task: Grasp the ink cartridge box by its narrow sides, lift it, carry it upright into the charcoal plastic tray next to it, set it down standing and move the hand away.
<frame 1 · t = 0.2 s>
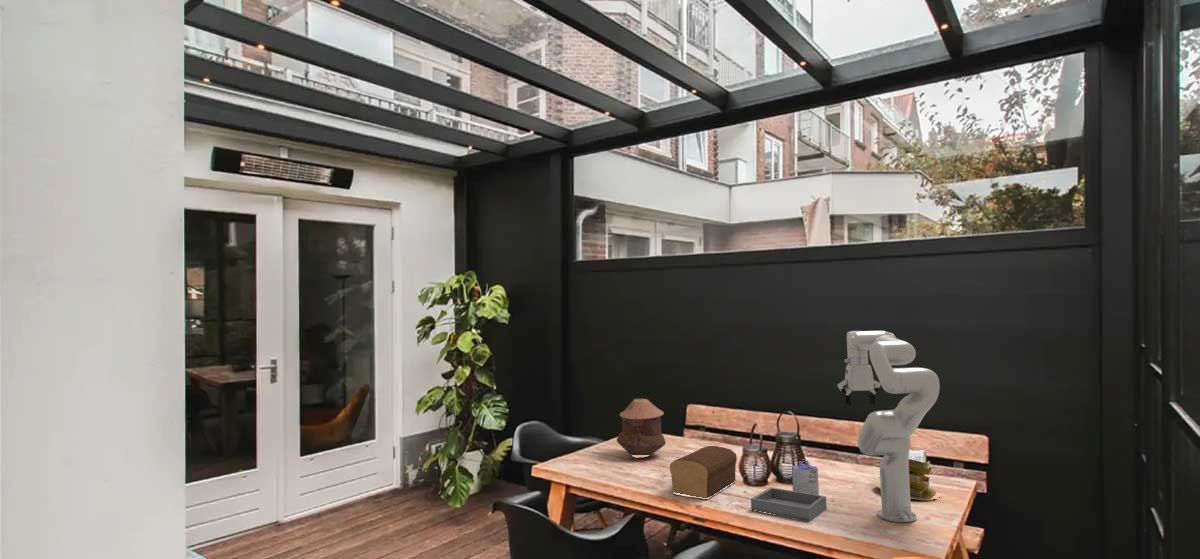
hand: (860, 404, 247), 36 cm above the table, tool pointing down, fingers open, 9 cm apart
tray: (788, 509, 232), on the table
stacked food on plate: (906, 493, 249), on the table
pottery vessel: (641, 457, 324), on the table
brain slice: (791, 470, 290), on the table
ink cartridge box: (806, 499, 245), on the table
bread: (705, 489, 263), on the table
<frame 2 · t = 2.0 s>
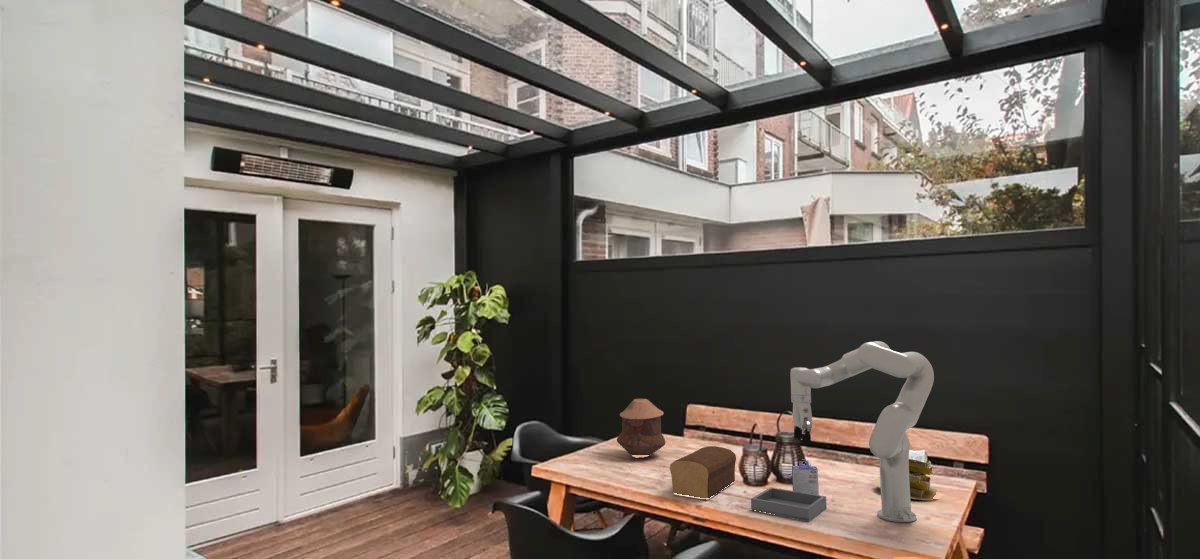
hand: (802, 441, 247), 22 cm above the table, tool pointing down, fingers open, 9 cm apart
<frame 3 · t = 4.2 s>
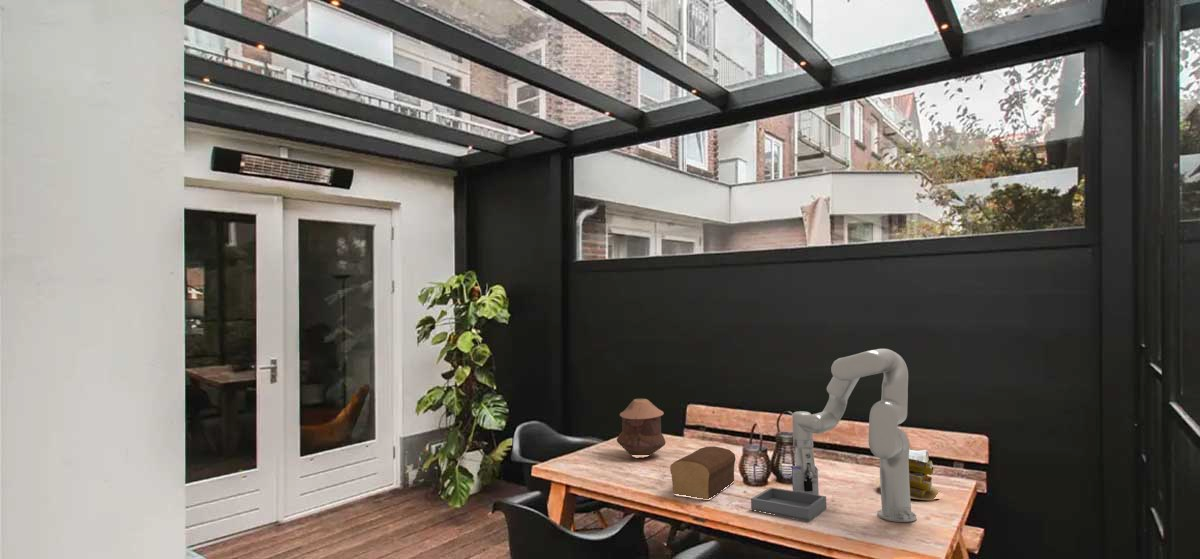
hand: (805, 488, 246), 4 cm above the table, tool pointing down, fingers closed on ink cartridge box, 6 cm apart
ink cartridge box: (805, 498, 245), on the table, touching gripper
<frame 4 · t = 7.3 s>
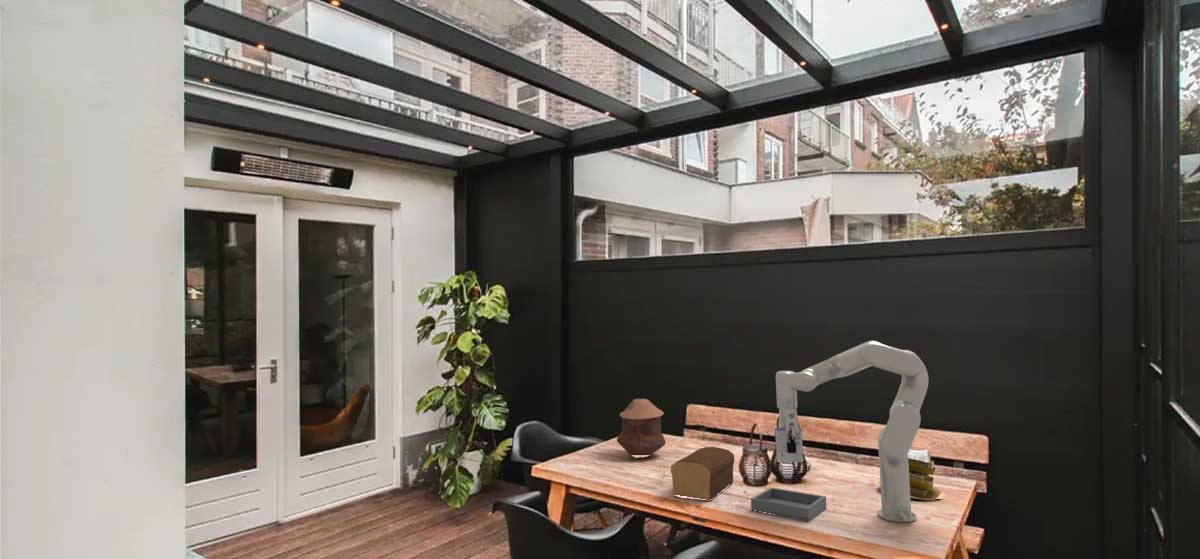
hand: (789, 450, 236), 22 cm above the table, tool pointing down, fingers closed on ink cartridge box, 6 cm apart
ink cartridge box: (789, 461, 236), point 17 cm above the table, touching gripper
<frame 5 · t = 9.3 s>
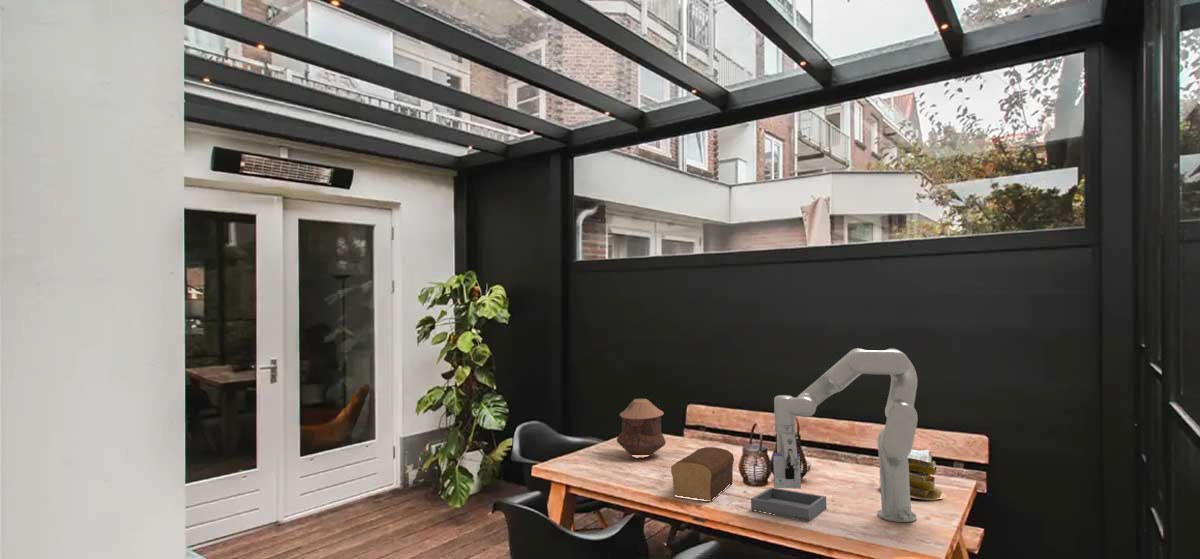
hand: (787, 476, 233), 12 cm above the table, tool pointing down, fingers closed on ink cartridge box, 6 cm apart
ink cartridge box: (787, 487, 233), point 8 cm above the table, touching gripper
when the fingers open (6 cm above the table, at t = 10.9 s): ink cartridge box drops 1 cm, resting on tray.
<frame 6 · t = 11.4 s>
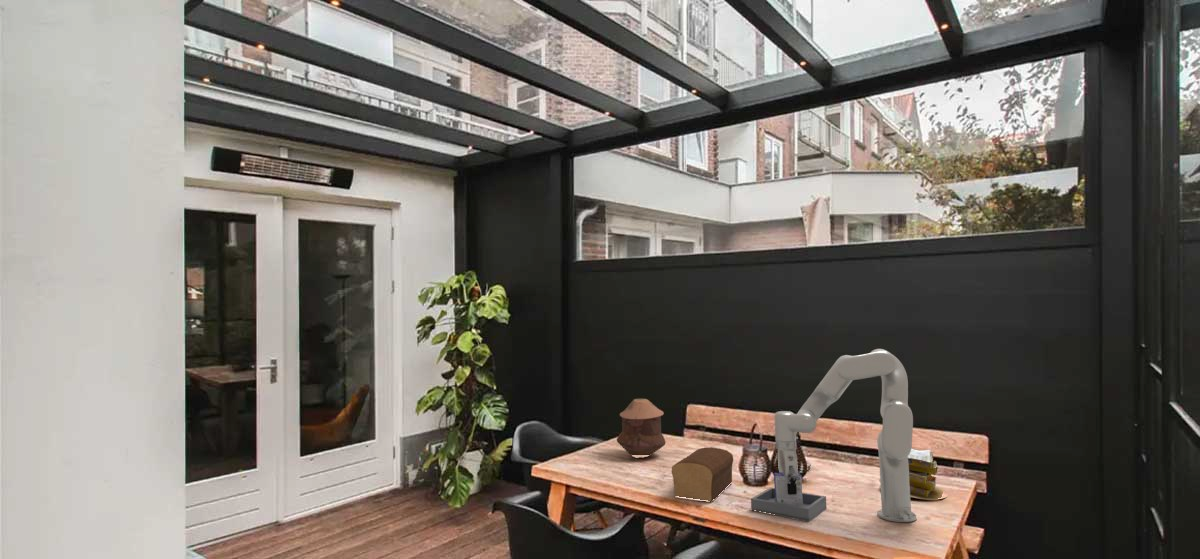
hand: (788, 490, 233), 7 cm above the table, tool pointing down, fingers open, 9 cm apart
ink cartridge box: (789, 507, 233), point 1 cm above the table, touching tray
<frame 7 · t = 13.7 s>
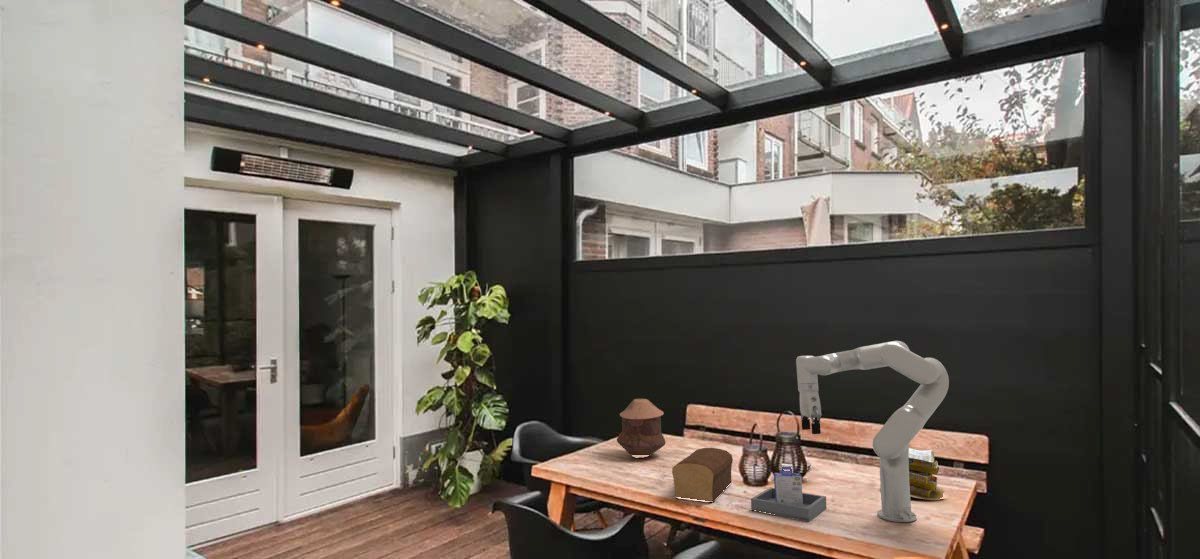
hand: (811, 431, 240), 28 cm above the table, tool pointing down, fingers open, 9 cm apart
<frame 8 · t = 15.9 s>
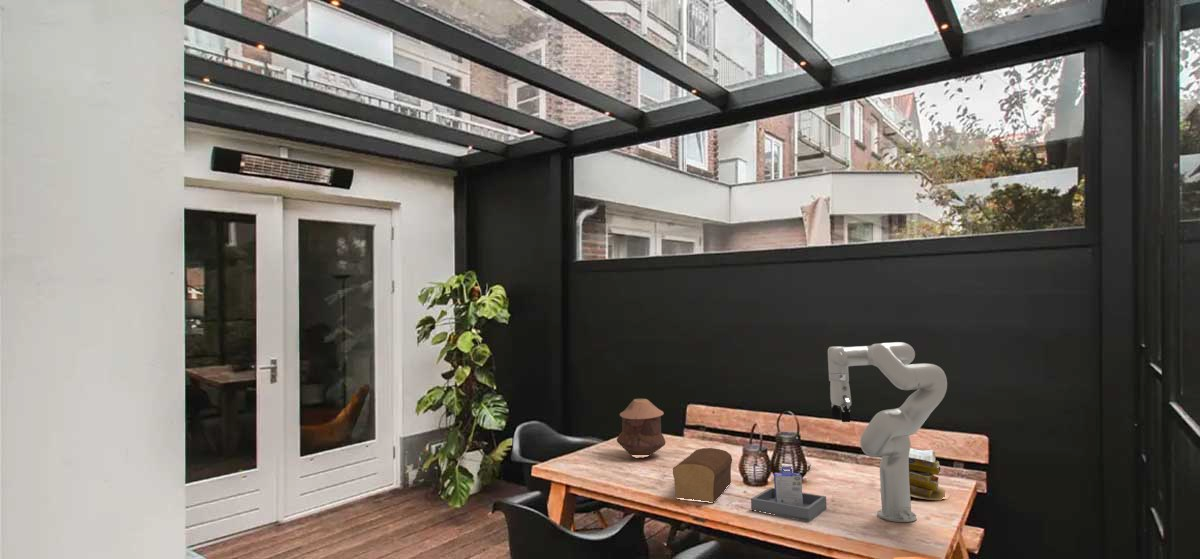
hand: (840, 419, 248), 30 cm above the table, tool pointing down, fingers open, 9 cm apart
at the end: ink cartridge box inside the target area on the tray (0.4 cm from its centre), point 0.8 cm above the tray's base; ink cartridge box tilted 0°; the gripper is holding nothing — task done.
